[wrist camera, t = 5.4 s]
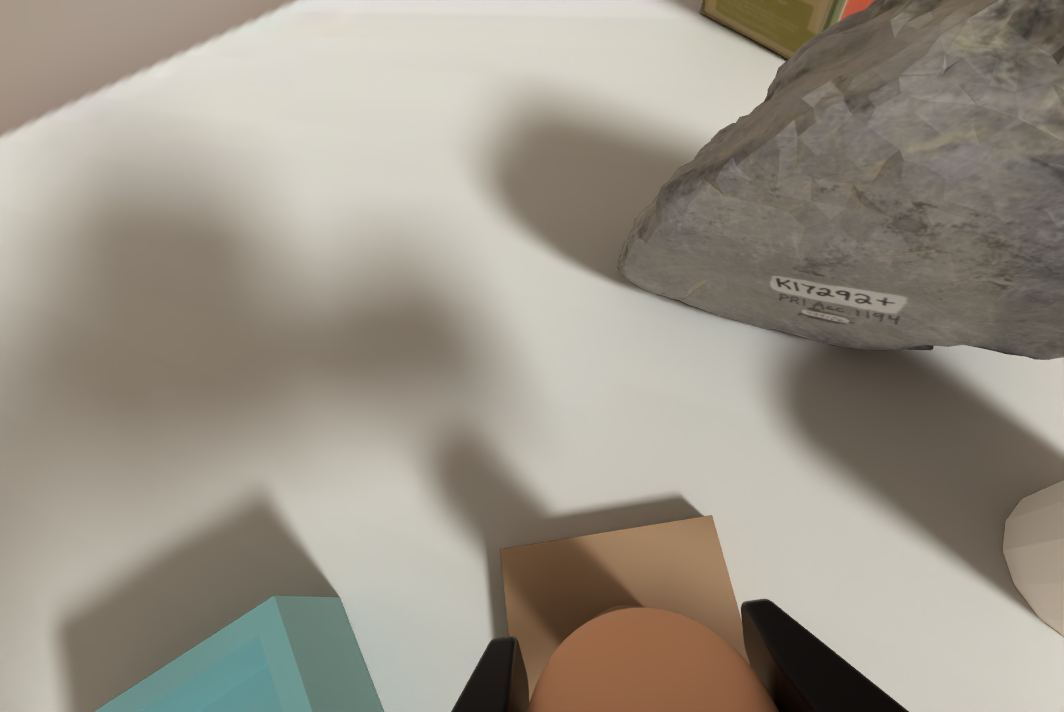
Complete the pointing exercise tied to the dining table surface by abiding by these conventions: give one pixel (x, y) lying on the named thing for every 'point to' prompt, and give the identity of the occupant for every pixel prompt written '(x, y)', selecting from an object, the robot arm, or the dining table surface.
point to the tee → (616, 584)
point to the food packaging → (781, 19)
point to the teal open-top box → (265, 666)
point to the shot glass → (1039, 552)
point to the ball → (648, 668)
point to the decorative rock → (884, 188)
